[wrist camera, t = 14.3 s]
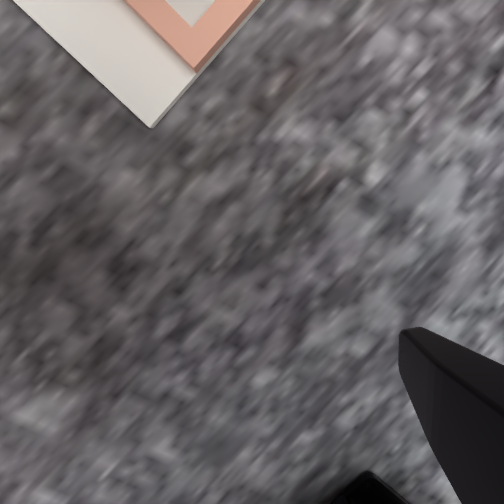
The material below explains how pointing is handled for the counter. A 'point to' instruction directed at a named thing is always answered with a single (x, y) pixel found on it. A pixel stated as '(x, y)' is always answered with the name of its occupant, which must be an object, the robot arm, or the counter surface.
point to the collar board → (143, 43)
